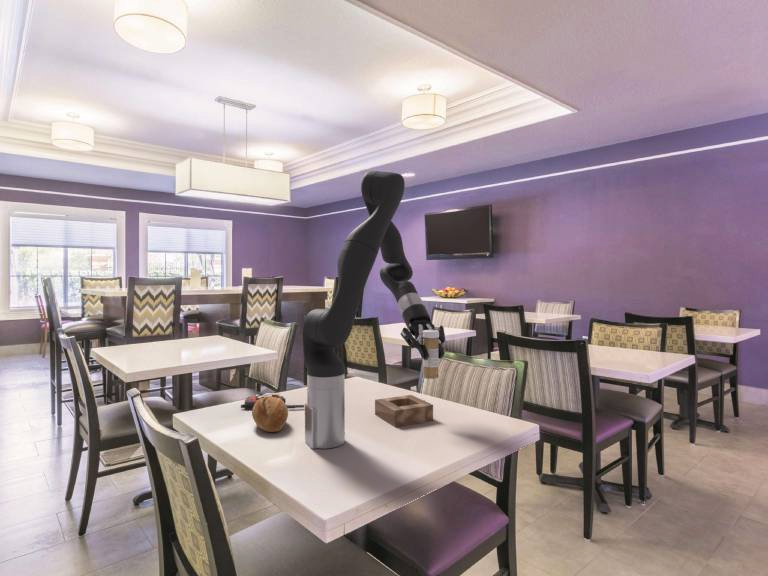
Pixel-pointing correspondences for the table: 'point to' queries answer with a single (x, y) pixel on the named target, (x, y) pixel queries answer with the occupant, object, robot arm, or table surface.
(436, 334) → the sprinkles bottle
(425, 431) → the table surface
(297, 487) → the table surface
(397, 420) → the walnut bottle stand
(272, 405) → the bread roll
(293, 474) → the table surface
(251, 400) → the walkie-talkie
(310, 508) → the table surface
